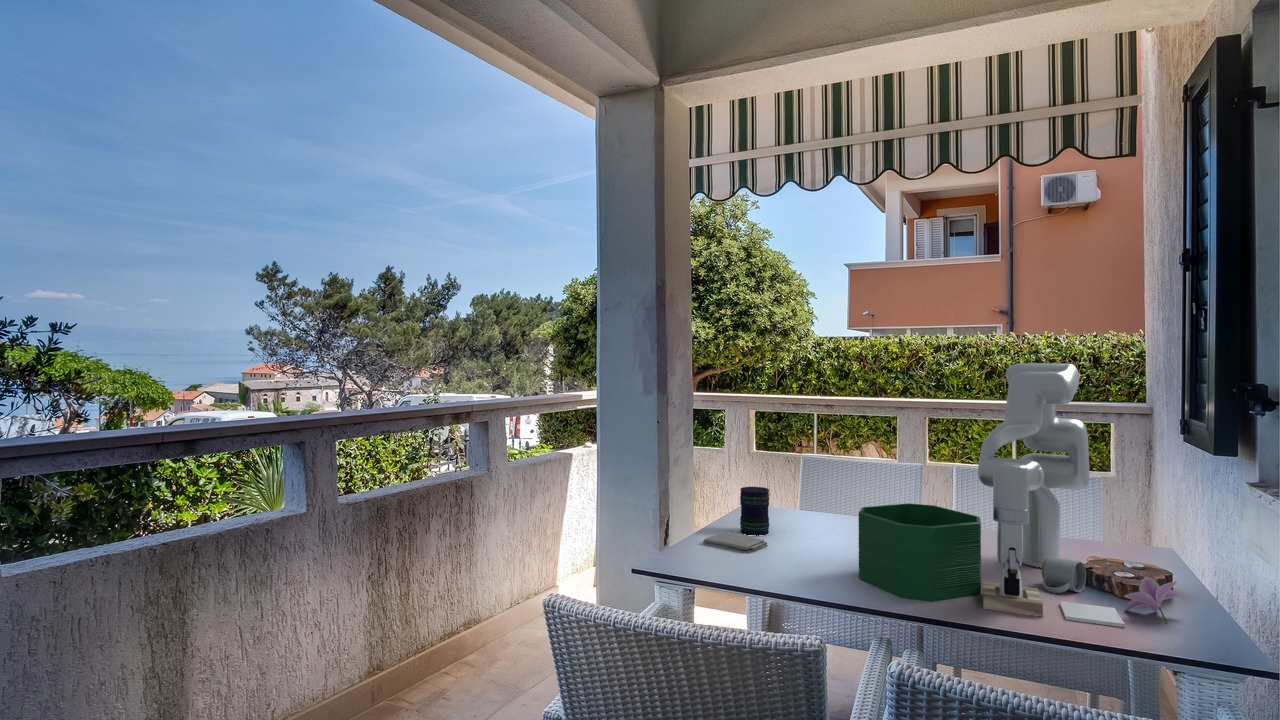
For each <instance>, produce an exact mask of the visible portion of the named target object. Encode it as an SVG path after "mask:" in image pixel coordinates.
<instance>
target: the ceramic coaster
mask: <svg viewBox="0 0 1280 720" xmlns="http://www.w3.org/2000/svg"><path fill="white" fill-rule="evenodd" d="M1059 606H1060V607H1059V608H1061V609H1060V610H1061V611H1062V615H1063V616H1064V619H1065V620H1066V621H1074V622H1078V623H1079V622H1081V623H1087V624H1088V623H1089V624H1094V623H1095V624H1097V625H1104V626H1109V625H1110V627H1116V626H1117V628H1126V625H1125V622H1124V620H1123V619H1122V618H1121V615H1120V614H1119V613H1118V611H1117V609H1116V608H1115V607H1108V606H1102V605H1093V604H1085V603H1077V602H1069V601H1061V600H1060V601H1059ZM1095 624H1094V625H1095Z"/></svg>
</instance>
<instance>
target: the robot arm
mask: <svg viewBox="0 0 1280 720" xmlns="http://www.w3.org/2000/svg"><path fill="white" fill-rule="evenodd" d="M1005 376H1006V378H1005V379H1006V381H1007V384H1008V388H1007V389H1008V390H1007V396H1006V404H1005V412H1004V420H1003V422H1001V423H1000V424H999V425H997V426H996V427H995V428H994V429H992V430H991V431H990V433H989V434H988V435H987V436H986V437H985V439H984V440H983V442H982V444H981V447H980V451H979V453H980V454H979V460H978V468H977V475H978V480H979V481H980V483H981V484H983V485H984V486H985V487H990V488H992V520H993V521H995V522H997V527H996V528H997V534H996V535H997V537H996V538H997V540H996V542H997V543H996V545H997V548H996V550H997V551H996V553H997V554H996V557H997V562H998V564H999V565H1001V566H1002V564H1003V568H1005V577H1004V594H1005V595H1012V596H1020V579H1019V571H1020V570H1019V567H1021V566H1022V565H1025V564H1026V565H1025V566H1028V565H1029V566H1030V567H1033V566H1034V568H1039V567H1040V569H1042V565H1043V563H1044V561H1045V560H1046V559H1047V558H1060V559H1062V558H1061V543H1060V542H1061V539H1060V538H1061V537H1060V536H1061V529H1060V528H1061V524H1060V521H1061V520H1060V518H1061V514H1060V512H1061V508H1060V501H1059V500H1058V497H1057V496H1056V495H1055V494H1054V493H1053V492H1052V490H1050V489H1060V490H1071V491H1081V490H1084V489H1086V488H1087V487H1088V485H1089V481H1090V457H1089V455H1090V454H1089V435H1088V430H1087V427H1086V425H1085V423H1084V422H1082V421H1081V420H1080V419H1074V418H1060V417H1057V415H1056V405H1068V404H1070V403H1071V402H1072V400H1073V398H1074V396H1075V395H1076V393H1077V391H1078V389H1079V385H1080V374H1079V370H1078V369H1077V367H1076V365H1074V364H1071V363H1063V362H1062V363H1060V362H1059V363H1049V362H1048V363H1046V362H1045V363H1043V362H1042V363H1041V362H1029V363H1028V362H1027V363H1026V362H1025V363H1024V362H1023V363H1015V364H1011V365H1010V366H1008V367H1007V368H1006V371H1005ZM1018 440H1022V441H1023V444H1024V446H1025V447H1026V448H1028V449H1030V450H1031V451H1032V450H1033V451H1041V452H1052V453H1053V452H1055V453H1065V455H1063V454H1062V455H1061V454H1054V453H1053V454H1051V453H1040V452H1039V453H1037V452H1036V453H1027V454H1024V455H1023V456H1021V457H1020V458H1010V457H996V456H995V454H996V452H997V451H998V450H999V449H1000V448H1002V447H1003V446H1005V445H1006V444H1009V443H1011V442H1016V441H1018ZM1066 454H1068V455H1066ZM1007 562H1010V564H1007ZM1022 563H1023V564H1022ZM1008 567H1010V568H1008Z"/></svg>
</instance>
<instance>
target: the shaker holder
mask: <svg viewBox="0 0 1280 720" xmlns="http://www.w3.org/2000/svg"><path fill="white" fill-rule="evenodd" d="M999 592H1000V583H993V582H992V583H991V582H985V581H981V595H982V604H983V605H982V607H983V610H985V609H989V610H988V611H993V610H996V611H995V612H1000V611H1004V612H1003V613H1008V612H1012V613H1011V614H1015V613H1019V614H1018V615H1022V614H1026V615H1025V616H1030V615H1034V616H1033V617H1037V616H1041V617H1040V618H1043V616H1044V611H1043V610H1044V605H1043V600H1042V597H1041V594H1040V592H1039V589H1038V588H1034V587H1033V588H1032V587H1026V586H1022V593H1023V598H1019V597H1011V596H1003V595H999Z"/></svg>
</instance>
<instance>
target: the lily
mask: <svg viewBox="0 0 1280 720" xmlns="http://www.w3.org/2000/svg"><path fill="white" fill-rule="evenodd" d="M1177 583H1178V581H1176V580H1175V581H1171V582H1167V583H1164V584H1161V585H1159V583H1158V582H1157V581H1156V580H1154V579H1153V578H1152V577H1150V576H1145V577H1143V579H1142V580H1141V582H1140V584H1139V587H1138V588H1139V589H1138V591H1135V592H1132V593H1128V594H1125V595H1123V597H1124V598H1127V599H1129V600H1130V601H1129V602H1128V603H1127V604H1126V606H1125V607H1124V611H1125V612H1127V611H1130V610H1133V609H1136V608H1139V607H1140V608H1141V607H1144V606H1146V607H1147V608H1148V609H1149V610H1151V611H1152V612H1153V613H1157V612H1158V611H1159V612H1160V613H1161V616H1162V618H1163V620H1164V623H1165V625H1167V624H1168V622H1167V620H1166V617H1165V615H1164V613H1163V611H1162V609H1161V607H1160V606H1161V605H1162V603H1163V601H1165V600H1169V599H1173V598H1178V597H1181V596H1183V595H1182V593H1180V592H1179V591H1176V590H1174V589H1173V587H1174V586H1175V585H1176V584H1177Z"/></svg>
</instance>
